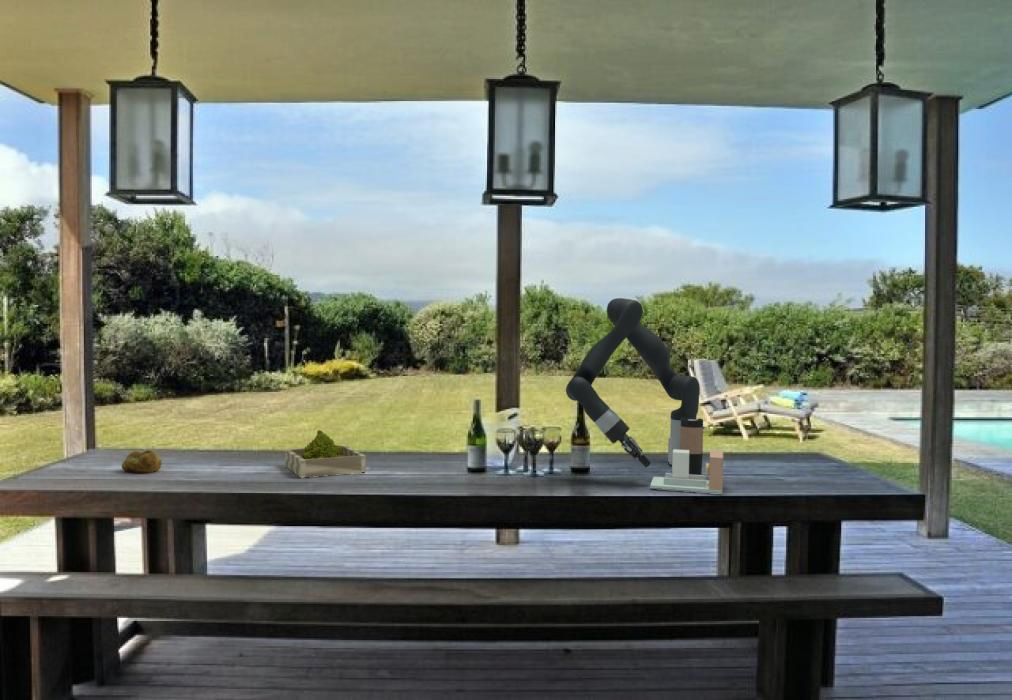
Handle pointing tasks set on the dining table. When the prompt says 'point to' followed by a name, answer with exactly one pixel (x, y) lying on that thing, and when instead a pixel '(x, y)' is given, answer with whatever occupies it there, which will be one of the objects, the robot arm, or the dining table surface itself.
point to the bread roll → (142, 462)
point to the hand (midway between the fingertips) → (648, 465)
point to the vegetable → (321, 448)
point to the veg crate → (325, 463)
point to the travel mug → (692, 443)
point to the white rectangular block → (680, 464)
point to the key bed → (696, 477)
